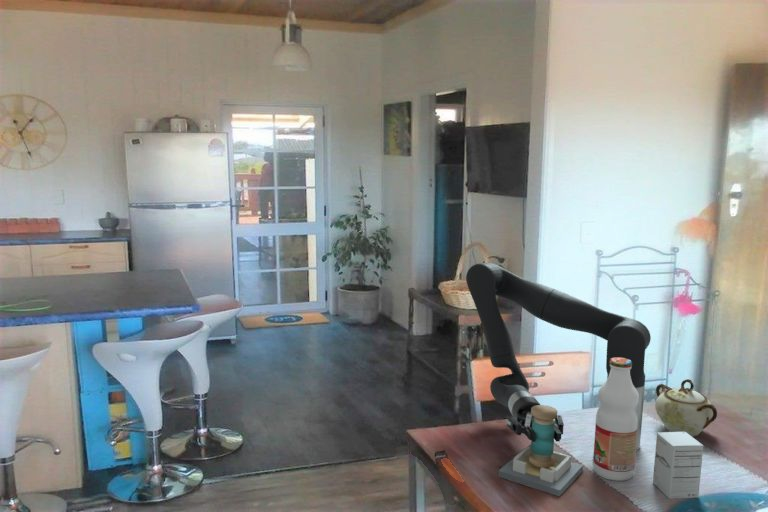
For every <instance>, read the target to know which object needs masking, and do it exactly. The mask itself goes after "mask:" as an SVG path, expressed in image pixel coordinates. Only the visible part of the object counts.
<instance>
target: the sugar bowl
mask: <svg viewBox="0 0 768 512" xmlns="http://www.w3.org/2000/svg"><path fill="white" fill-rule="evenodd" d="M680 383H681V384H680V387H676V388H671V387H669V386H667V385H666V384H663V383H659V384H657V386H656V387H655V388H656V389H655V393H656V396H657V398H656V400H655V405H654V406H655V408H654V409H655V411H656V414H657V416H658V418H659V420H660V421H661V422H662V424H663V425H664V426H665V429H666V430H667V432H686V433H688V434H689V435H690V436H692V437H696V436H699V434H700V433H702V431H704V430H705V429H706V428H707V427H709V425H710V424H711V423H713V422H715V420H716V419H717V418H718V417H717V416H718V411H717V409H716V407H715V405H713V404H712V402H711V401H710V400H709V399H708V398H707V397H706V396H705V395H704V394H703V393H700V392H698V391H696V390H694V382H693V381H692V379H688V378H687V379H684V380H683V381H681V382H680ZM686 383H689V385H690V388H688V387H685V384H686ZM660 389H661V391H660Z"/></svg>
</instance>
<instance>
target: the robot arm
mask: <svg viewBox="0 0 768 512" xmlns="http://www.w3.org/2000/svg"><path fill="white" fill-rule="evenodd" d="M465 279H466V284H467V288H468V290H469V293H470V295H471V298H472V300H473V303H474V306H475V308H476V311H477V313H478V317H479V319H480V323H481V326H482V329H483V332H484V333H483V334H484V337H485V341H486V346H487V350H488V355H489V359H490V363H491V366H492V367H494V368H495V369H496V368H497V369H499V368H501V369H502V368H503V369H504V368H505V369H509V370H510V372H511V373H508V374H505V375H501V376H500V375H499V376H496V377H494V378H493V379H492V380H491V382H490V386H489V388H490V394H491V395H492V397H493V398H494V400H495V401H496V402H498V403H499V404H501V405H503V406H504V407H506V408H508V410H509V412H510V414H511V415H508V416H506V417H507V418H506V419H507V420H506V426H507V428H508V429H509V430H511V431H512V432H513V433H515V435H518V436H521V435H522V434H523V435H524V436H525V437H526V438H527V439H528V440H530V442H531V441H532V442H535V441H536V433H535V432H534V430H533V429H532V419H533V418H534V417H533V416H532V415H531V408H532V407H533V406H536V405H541V403H540V402H539V401H538V400H537V398H536V397H535V396H534V395H533V394H532V393H531V392H530V391H529V390H530V386H529V385H530V384H529V381H528V380H527V378H526V376H525V374H524V373H523V371H522V368H521V367H520V364H519V362H518V360H517V357H516V353H515V350H514V345H513V340H512V338H511V334H510V331H509V329H508V327H507V325H506V323H505V321H504V319H503V316H502V314H501V312H500V309H499V305H498V301H497V296H498V297H501V298H503V299H506V300H509V301H511V302H513V303H516V304H517V305H518V306H520V307H522V309H524V310H525V311H526V312H527V313H529V314H531V315H532V316H533V317H535V318H537V319H539V320H541V321H543V322H546V323H548V324H550V325H553V326H555V327H559V328H561V329H566V330H571V331H576V332H582V333H587V334H590V335H594V336H597V337H599V338H601V339H604V340H605V341H607V343H606V363H605V364H606V365H605V369H606V374H607V376H606V380H607V379H608V377H609V374H610V370H611V367H610V359H611V358H615V357H619V358H626V359H629V360H631V361H632V368H631V369H630V376H631V380H632V383H633V385H634V387H635V388H636V390H637V392H638V394H639V403H638V406H637V408H636V413H637V417H638V429H637V441H636V451H638V450H640V447H641V437H642V423H643V413H644V400H645V387H646V386H645V385H646V374H645V357H646V350H647V348H648V347H649V345H650V344H651V341H652V340H651V338H652V337H651V332H650V330H649V329H648V327H647V326H646V325H645V324H644V323H643V322H641V321H639V320H637V319H634V318H631V317H627V316H623V315H619V314H616V313H613V312H610V311H607V310H604V309H602V308H599V307H597V306H595V305H593V304H590V303H589V302H586V301H583V300H582V299H579V298H577V297H575V296H572V295H570V294H568V293H565V292H563V291H561V290H558V289H555V288H553V287H550V286H547V285H544V284H542V283H539V282H536V281H531V280H528V279H525V278H524V277H521V276H519V275H517V274H515V273H513V272H510V271H509V270H507V269H506V268H504V267H501V266H500V265H498V264H496V263H494V262H479V263H475V264H473V265H472V266H470V267H469V268H468V269H467V272H466V276H465ZM553 420H554V421H555V431H554V441H555V442H561V440H562V435H564V426H565V425H564V420H563V417H562V415H559V414H557V418H555V419H553Z"/></svg>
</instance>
